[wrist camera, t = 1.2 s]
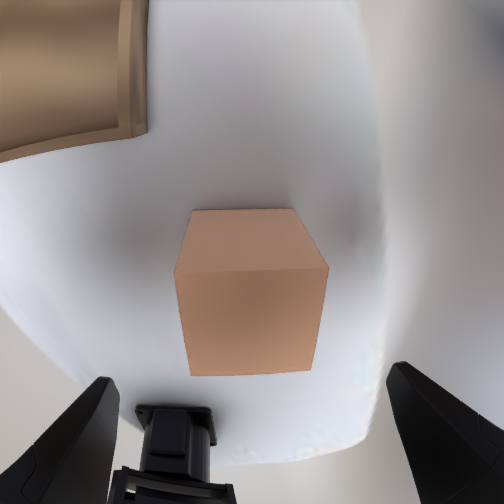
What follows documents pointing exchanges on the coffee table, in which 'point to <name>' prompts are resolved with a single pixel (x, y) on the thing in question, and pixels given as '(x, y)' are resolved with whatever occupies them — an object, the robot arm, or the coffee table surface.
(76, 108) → the walnut tray
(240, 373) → the terracotta block
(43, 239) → the coffee table surface
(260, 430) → the coffee table surface
